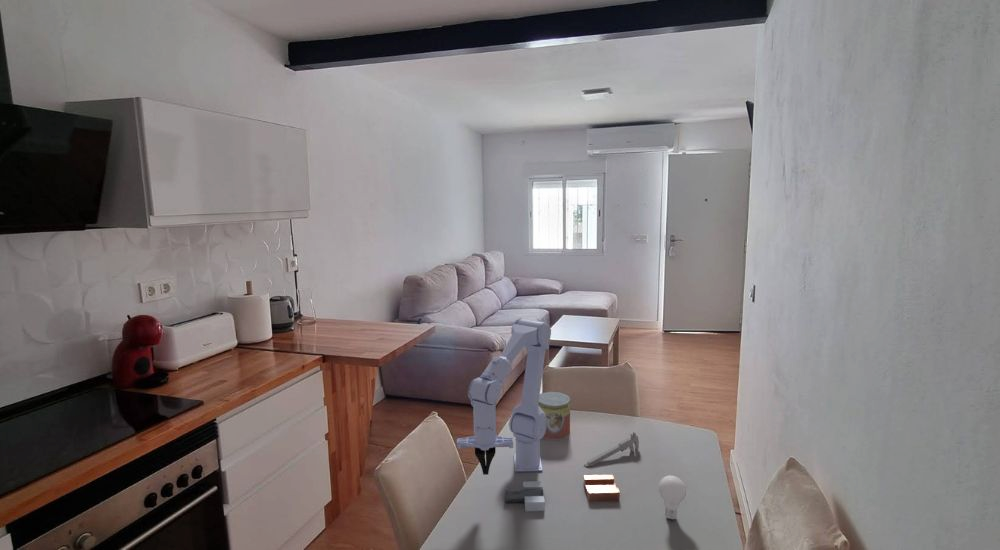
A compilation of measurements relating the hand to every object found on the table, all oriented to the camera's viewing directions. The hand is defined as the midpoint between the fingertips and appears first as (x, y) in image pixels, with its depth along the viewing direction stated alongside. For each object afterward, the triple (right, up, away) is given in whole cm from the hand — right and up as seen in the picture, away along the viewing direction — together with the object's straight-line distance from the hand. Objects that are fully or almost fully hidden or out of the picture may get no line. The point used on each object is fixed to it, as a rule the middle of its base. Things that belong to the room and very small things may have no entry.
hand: (485, 472), depth 125 cm
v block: (+31, -7, +4) cm, 32 cm away
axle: (+10, -8, +1) cm, 13 cm away
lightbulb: (+46, -9, -6) cm, 47 cm away
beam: (+13, -8, +1) cm, 15 cm away
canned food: (+22, -2, +38) cm, 44 cm away
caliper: (+38, -5, +21) cm, 44 cm away
